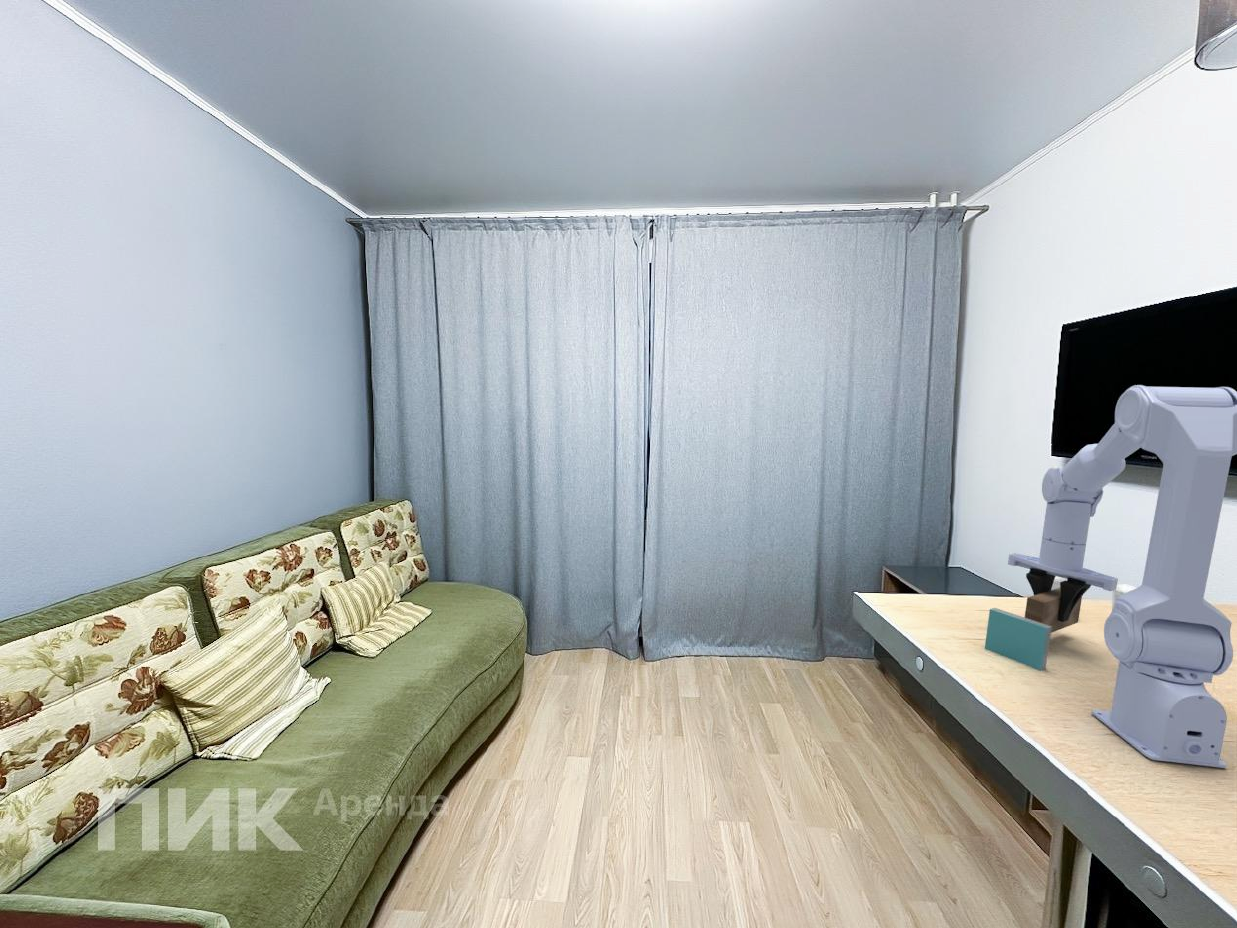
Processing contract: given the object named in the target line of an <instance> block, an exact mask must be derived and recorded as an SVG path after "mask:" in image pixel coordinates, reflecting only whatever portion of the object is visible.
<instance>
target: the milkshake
mask: <svg viewBox="0 0 1237 928" xmlns="http://www.w3.org/2000/svg"><path fill="white" fill-rule="evenodd" d="M1138 587H1139V586H1138ZM1138 587H1137V586H1135V585H1131V584H1128V583H1117V588H1116V590H1114V591H1112V603H1111V604H1112V605H1111V611H1112V610H1113V607H1114V603H1115V599H1116V598H1117V597H1118V596H1120V595H1122V594H1124V593H1127V592H1129V591H1131V590H1134V589H1136V588H1138Z"/></svg>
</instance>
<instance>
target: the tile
mask: <svg viewBox="0 0 1237 928" xmlns="http://www.w3.org/2000/svg"><path fill="white" fill-rule="evenodd" d="M987 622H988V623H987V626H986V627H987V628H986V629H987V630H986V637H985V641H984V642H985V643H984V644H985V645H984V650H986V651H990V652H992V653H995V654H996V655H997V654H998V655H999V656H1002V657H1005V658H1008V659H1009V660H1013V661H1014V662H1017V663H1020V664H1022V665H1025V666H1027V667H1030V668H1032V669H1035V670H1037V671H1039V672H1042V671H1043V670H1046V667H1047V662H1048V653H1049V650H1050V649H1049V647H1050V641H1051V634H1052V633H1051V629H1052V626H1049V625H1046V624H1043V623H1040V622H1037V621H1034V620H1031V619H1028V618H1025V616H1024V617H1023V616H1021V615H1018V614H1015V613H1012V612H1009V611H1006V610H1004V609H1000V608H997V607H993V608H990V609H989V614H988V621H987Z"/></svg>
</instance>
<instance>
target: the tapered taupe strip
mask: <svg viewBox="0 0 1237 928" xmlns="http://www.w3.org/2000/svg"><path fill="white" fill-rule="evenodd" d="M1082 599H1083V596H1082V597H1081V598H1080V599H1079V600H1078V602H1077V603H1076V605H1075V606H1074V608H1073V610H1072V612H1071V614H1070V616H1069V619H1068V620H1067V621H1065V622H1061V621H1058V613H1059V607H1060V601H1061V590H1060V588H1057V589H1053V590H1050V591H1047V592H1044V593H1040V594H1037V595H1034V594H1033V595H1031V596H1028V597H1027V599H1026V605H1025V613H1024V617H1025V618H1028V619H1031V620H1034V621H1037V622H1040V623H1043V624H1046V625H1049V626H1052V629H1051V634H1052V633H1055V632H1057V631H1060V630H1062V629H1064V628H1067V627H1071V626H1072V625H1075V624H1079V619H1080V613H1081V607H1082Z"/></svg>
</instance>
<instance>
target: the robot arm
mask: <svg viewBox="0 0 1237 928" xmlns="http://www.w3.org/2000/svg"><path fill="white" fill-rule="evenodd" d="M1140 448H1141V449H1142V450H1143V451H1146V452H1149V453H1153V454H1155V455H1156V456H1157V457H1158V458H1159V460H1160V461H1161V462H1162V464H1163V466H1162V470H1161V471H1162V473H1161V478H1160V482H1159V490H1158V493H1157V499H1156V505H1155V510H1154V511H1155V512H1154V516H1153V522H1152V527H1151V532H1150V538H1149V544H1148V550H1147V554H1146V561H1145V566H1144V572H1143V576H1142V584H1141V585H1139V586H1138V588H1136V589H1134V590H1131V591H1129V592H1127V593H1124V594H1122V595H1120V596H1118V597H1117V598H1116V599H1115V603H1114V607H1113V610H1112V609H1111V612H1110V614H1109V616H1108V617H1107V618H1106V620H1105V623H1104V627H1103V638H1104V642H1105V645H1106V647H1107V650H1109V652H1110V653H1111V655H1112V656H1113V657H1114V658H1115V659H1116V660H1117V661H1119V662H1118V667H1117V674H1116V679H1115V686H1114V690H1113V691H1114V692H1113V697H1112V703H1111V704H1112V705H1111V709H1110V710H1099V709H1091V714H1092V715H1093V716H1094V717H1096V718H1097V719H1098V720H1099V721H1101V722H1102V723H1104V725H1105V726H1107V727H1109V729H1111V730H1112V731H1113V732H1114V733H1116V734H1117V735H1119V736H1120V737H1121V738H1122V739H1124V741H1126V742H1127V743H1129V744H1130V745H1131V746H1132V747H1134V749H1136V750H1137V751H1139V752H1140V753H1141V754H1143V756H1145V757H1146V758H1148V759H1150V760H1152V761H1160V762H1168V763H1170V762H1171V763H1178V764H1187V765H1196V766H1202V767H1203V766H1205V767H1212V768H1222V769H1226V768H1227V766H1228V765H1227V763H1226V762H1225V761H1223V760H1221V759H1220V757H1221V754H1222V753H1221V752H1222V748H1223V743H1224V737H1225V732H1226V726H1227V721H1228V720H1227V719H1228V717H1227V716H1228V714H1227V711H1226V709H1225V707H1224V706H1223V705H1222V703H1221V702H1220V701H1218V699H1216V698H1215V697H1214V696H1212V694H1211V693H1209V691H1208V690H1207V688H1206V685H1205V684H1204V683H1207V684H1208V683H1209V684H1212V682H1213V678H1214V676H1220V675H1222V674H1224V673H1225V672H1226V671H1228V669H1229V668H1230V666H1231V664H1232V663H1233V659H1234V649H1233V644H1232V640H1231V628H1232V625H1233V623H1232V621H1231V620H1230V619H1229V618H1228V617H1227V616H1226V615H1225V613H1223V612H1222V611H1221V610H1220V609H1218V608H1217V607H1215V606H1214V605H1212V604H1211V603H1210V602H1209V601H1207V600H1206V599H1205V598H1204V597H1205V592H1206V587H1207V582H1208V577H1209V572H1210V567H1211V561H1212V557H1213V553H1214V547H1215V541H1216V537H1217V531H1218V528H1219V521H1220V517H1221V511H1222V507H1223V502H1224V497H1225V491H1226V487H1227V482H1228V477H1229V471H1230V468H1231V460H1232V457H1233V456H1235V455H1237V391H1236V390H1235V389H1234V388H1232V387H1229V386H1218V387H1217V386H1216V387H1193V386H1191V387H1190V386H1189V387H1187V386H1186V387H1182V386H1181V387H1180V386H1146V385H1143V384H1137V385H1136V384H1134V385H1132V386H1130V387H1128V388H1127V389H1126V390H1125V391H1124V392H1123V393H1122V394H1121V395H1120V396H1119V398H1118V400H1117V403H1116V405H1115V410H1114V424H1112V425H1111V427H1110V428H1109V430H1108V431H1107V432H1106V433H1105V435H1104V436H1103V437H1101V440H1100V441H1099V442H1098V443H1093V444H1086V445H1085V446H1084V447H1083V448H1081V449H1080V450H1079V451H1078V452H1077V453H1076V454H1075V455H1074V456H1073V457H1072V458H1071V459H1070V460H1068V462H1067V463H1066V464H1065V465H1064V466H1063V467H1060V466H1059V467H1050V468H1048V470H1047V471H1045V474H1044V476H1043V479H1042V483H1041V493H1042V497H1043V499H1044V501H1045V502H1046V507H1045V515H1044V522H1043V529H1042V537H1041V542H1040V543H1041V544H1040V549H1039V550H1040V551H1039V557H1037V556H1036V557H1035V556H1032V555H1031V556H1030V555H1025V554H1021V553H1020V554H1019V553H1015V552H1014V553H1010V554H1008V561H1007V562H1008V563H1007V565H1009V566H1013V567H1021V568H1023V569H1028V570H1029V571H1028V572H1027V573H1026V574H1025V577H1026V579H1027V581H1028V583H1029V586H1030V588H1031V590H1032V593H1033V596H1034V595H1037V594H1040V593H1044V592H1047V591H1050V590H1051V589H1052V585H1053V582H1054V579H1055V576H1058V577H1062V578H1066V579H1067V581H1062V582H1060V590H1061V601H1060V607H1059V613H1058V621H1061V622H1065V621H1067V620H1068V619H1069V616H1070V614H1071V612H1072V610H1073V608H1074V606H1075V605H1076V603H1077V602H1078V600H1079V599H1080V598H1081V597H1082V598H1083V595H1085V593H1086V592H1087V591H1088V590H1089V589H1090V588H1091V587H1092V586H1094V587H1096V588H1097V587H1098V588H1101V589H1103V590H1104V591H1108V592H1113V591H1114V590H1116V588H1117V584H1118V580H1119V578H1118V577H1115V576H1111V575H1107V574H1104V573H1100V572H1099V571H1095V570H1092V569H1088V568H1085V567H1084V563H1085V562H1084V561H1085V554H1086V547H1087V541H1088V534H1089V526H1090V520H1091V518H1092V517H1094V516H1095V514H1096V511H1097V507H1098V505H1099V503H1101V500H1102V498H1103V495H1104V490H1103V489H1104V487H1106V486H1107V485H1108V484H1109V483H1110V482H1112V481H1113V480H1114V479H1115V478H1116V477H1118V476H1119V475H1120V474H1121V473H1123V471H1124V470H1125V469H1126V460H1125V459H1126V458H1127V457H1129V456H1130V455H1132V454H1134V453H1135V452H1136V451H1138V450H1139V449H1140Z"/></svg>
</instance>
